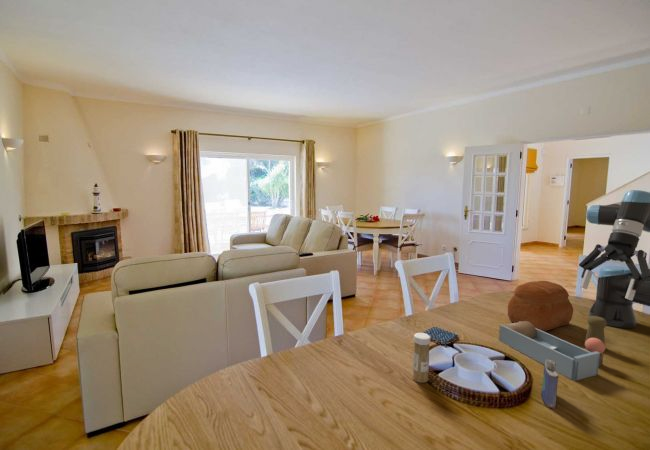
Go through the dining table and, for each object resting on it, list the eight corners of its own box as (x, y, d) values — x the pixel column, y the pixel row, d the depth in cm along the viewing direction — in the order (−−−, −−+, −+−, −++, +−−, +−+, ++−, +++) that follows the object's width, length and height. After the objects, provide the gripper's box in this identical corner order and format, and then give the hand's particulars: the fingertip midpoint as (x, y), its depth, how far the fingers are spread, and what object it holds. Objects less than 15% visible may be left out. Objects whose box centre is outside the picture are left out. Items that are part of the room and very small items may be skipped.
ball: (590, 348, 110) (592, 334, 110) (607, 355, 106) (609, 340, 105) (580, 350, 109) (582, 336, 108) (597, 358, 104) (599, 343, 103)
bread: (575, 325, 136) (579, 285, 134) (544, 336, 127) (548, 293, 125) (532, 311, 152) (535, 275, 150) (502, 319, 142) (504, 281, 140)
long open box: (519, 336, 126) (520, 317, 125) (597, 374, 101) (600, 351, 100) (498, 340, 123) (500, 320, 122) (574, 381, 98) (577, 356, 97)
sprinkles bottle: (428, 384, 96) (430, 340, 94) (411, 381, 97) (413, 337, 95) (428, 375, 100) (430, 333, 98) (412, 373, 101) (414, 331, 100)
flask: (556, 410, 85) (559, 370, 84) (542, 406, 87) (545, 367, 85) (552, 390, 93) (555, 354, 92) (539, 387, 95) (542, 351, 93)
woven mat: (445, 348, 118) (446, 343, 117) (419, 338, 126) (419, 333, 125) (460, 339, 124) (460, 334, 124) (434, 330, 132) (434, 325, 132)
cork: (609, 352, 115) (612, 321, 113) (589, 350, 116) (592, 319, 115) (598, 343, 121) (602, 314, 119) (579, 342, 122) (582, 313, 120)
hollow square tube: (590, 359, 110) (591, 349, 109) (602, 364, 107) (603, 354, 106) (583, 361, 109) (584, 351, 108) (595, 366, 106) (596, 356, 105)
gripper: (580, 227, 124) (561, 280, 124) (666, 235, 101) (643, 301, 100) (592, 234, 127) (573, 286, 126) (679, 243, 103) (657, 308, 103)
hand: (604, 293), depth 113 cm, fingers open, 13 cm apart
